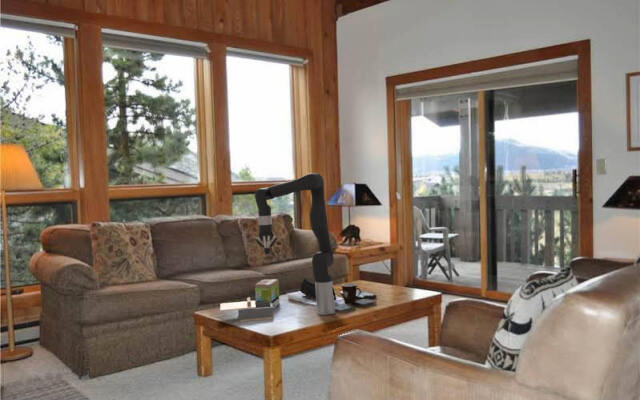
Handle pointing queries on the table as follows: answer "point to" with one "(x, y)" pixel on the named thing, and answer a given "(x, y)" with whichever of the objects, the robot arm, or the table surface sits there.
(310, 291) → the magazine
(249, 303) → the lid
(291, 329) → the table surface
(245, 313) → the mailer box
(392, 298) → the table surface
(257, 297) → the tea box
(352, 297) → the coffee mug
